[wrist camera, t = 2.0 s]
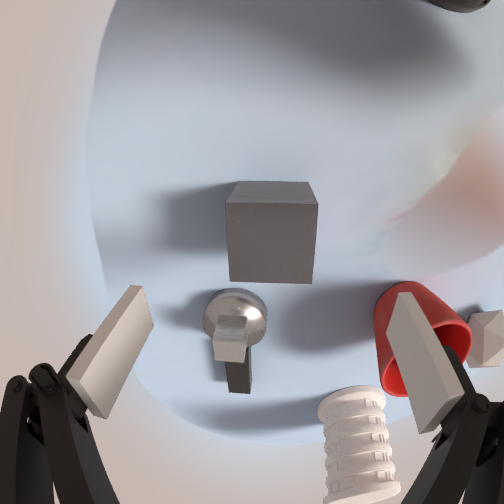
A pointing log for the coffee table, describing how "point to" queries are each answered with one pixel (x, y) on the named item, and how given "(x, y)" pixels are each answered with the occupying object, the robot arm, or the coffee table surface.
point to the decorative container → (357, 447)
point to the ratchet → (235, 332)
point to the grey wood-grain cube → (271, 232)
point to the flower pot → (440, 318)
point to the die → (486, 339)
